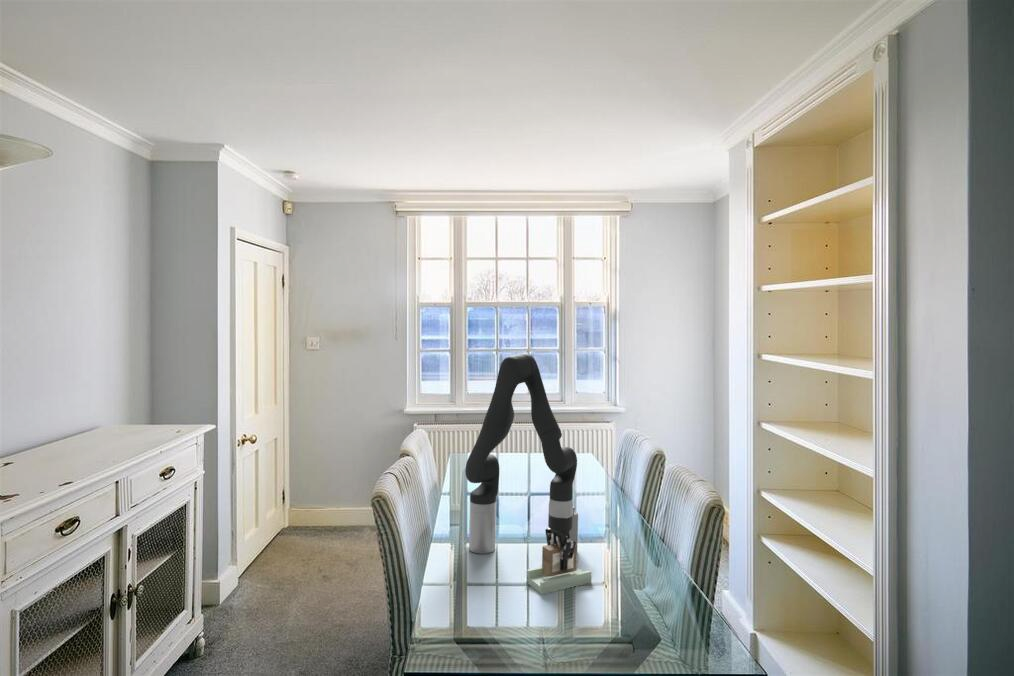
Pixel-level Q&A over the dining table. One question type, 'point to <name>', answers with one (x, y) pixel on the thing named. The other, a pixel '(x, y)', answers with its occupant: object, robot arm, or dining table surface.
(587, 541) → the dining table surface
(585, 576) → the ledge
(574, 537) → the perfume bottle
